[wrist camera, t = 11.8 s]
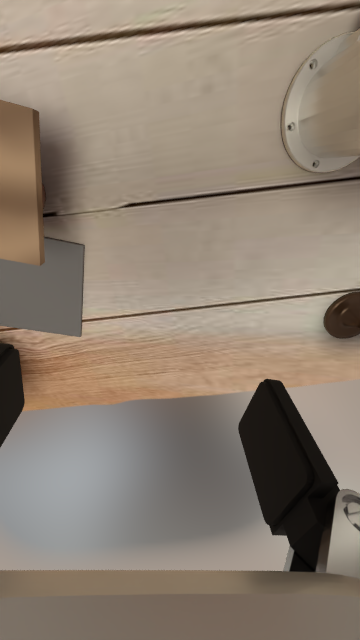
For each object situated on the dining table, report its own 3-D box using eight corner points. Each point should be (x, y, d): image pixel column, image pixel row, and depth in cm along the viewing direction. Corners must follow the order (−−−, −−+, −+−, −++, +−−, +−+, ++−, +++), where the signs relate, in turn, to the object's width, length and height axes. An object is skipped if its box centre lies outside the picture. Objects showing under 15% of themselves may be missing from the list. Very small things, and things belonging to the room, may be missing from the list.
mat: (-39, 220, 34) (-42, 220, 33) (84, 245, 36) (83, 245, 36) (-20, 320, 42) (-22, 322, 41) (81, 335, 44) (80, 337, 44)
